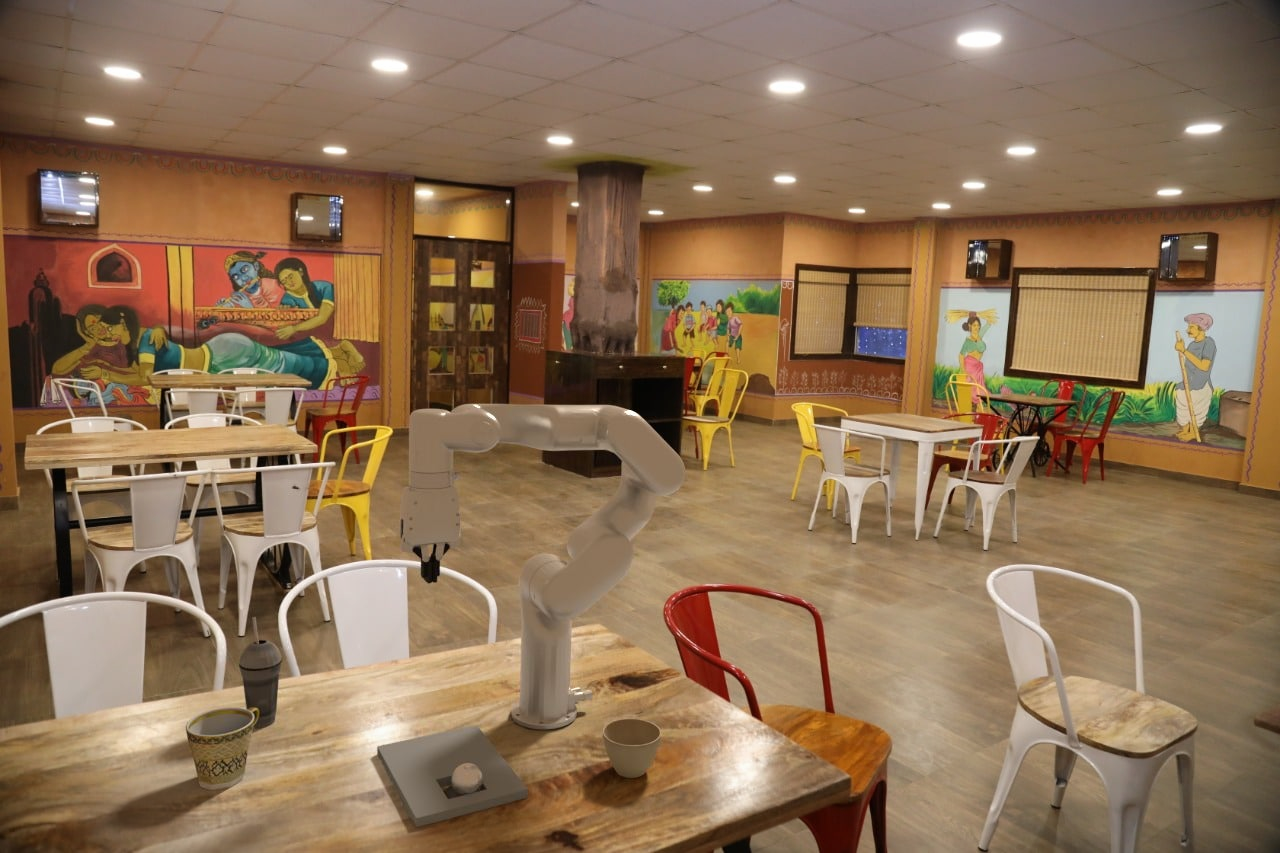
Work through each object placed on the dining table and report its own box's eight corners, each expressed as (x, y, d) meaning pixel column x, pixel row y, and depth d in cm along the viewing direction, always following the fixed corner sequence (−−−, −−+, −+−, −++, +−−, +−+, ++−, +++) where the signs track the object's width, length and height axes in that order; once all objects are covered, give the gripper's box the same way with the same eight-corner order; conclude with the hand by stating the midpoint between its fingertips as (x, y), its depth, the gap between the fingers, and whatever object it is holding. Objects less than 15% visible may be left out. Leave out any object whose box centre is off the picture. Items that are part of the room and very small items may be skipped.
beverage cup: (267, 733, 156) (265, 627, 154) (231, 728, 158) (228, 622, 155) (291, 715, 163) (289, 613, 161) (256, 710, 165) (254, 609, 162)
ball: (467, 807, 136) (451, 797, 140) (492, 787, 139) (476, 778, 143) (456, 781, 135) (441, 772, 139) (482, 761, 138) (466, 752, 142)
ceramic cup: (221, 801, 135) (219, 741, 133) (172, 787, 138) (170, 728, 137) (282, 762, 147) (281, 706, 146) (236, 750, 150) (235, 695, 149)
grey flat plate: (476, 732, 160) (476, 724, 159) (527, 797, 139) (527, 789, 139) (377, 754, 151) (377, 746, 150) (416, 827, 130) (416, 818, 130)
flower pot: (666, 762, 152) (668, 723, 151) (648, 791, 142) (650, 750, 141) (613, 751, 155) (615, 713, 154) (592, 778, 146) (593, 738, 145)
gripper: (465, 473, 159) (463, 570, 161) (382, 478, 151) (382, 580, 154) (479, 481, 152) (477, 581, 155) (393, 486, 145) (393, 592, 147)
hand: (430, 580), depth 154 cm, fingers closed
